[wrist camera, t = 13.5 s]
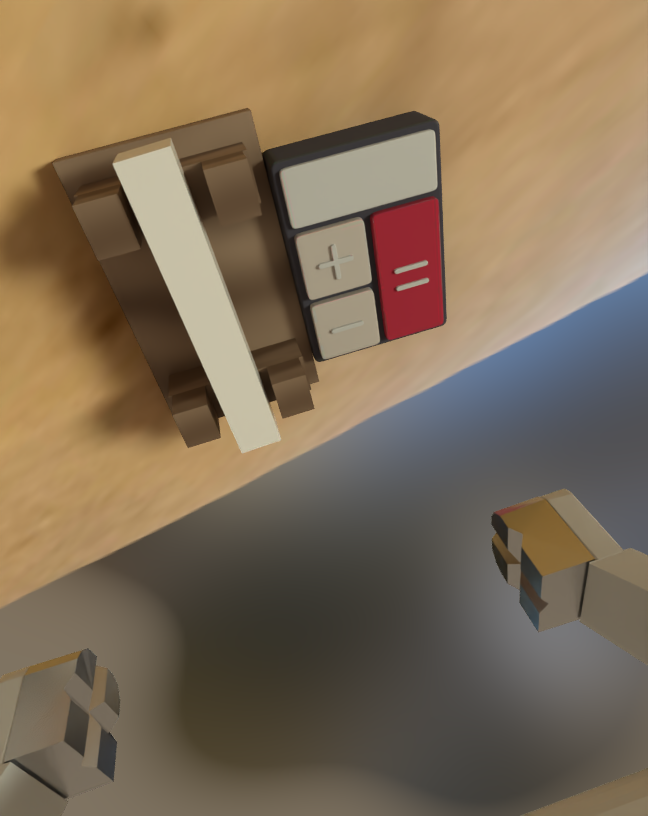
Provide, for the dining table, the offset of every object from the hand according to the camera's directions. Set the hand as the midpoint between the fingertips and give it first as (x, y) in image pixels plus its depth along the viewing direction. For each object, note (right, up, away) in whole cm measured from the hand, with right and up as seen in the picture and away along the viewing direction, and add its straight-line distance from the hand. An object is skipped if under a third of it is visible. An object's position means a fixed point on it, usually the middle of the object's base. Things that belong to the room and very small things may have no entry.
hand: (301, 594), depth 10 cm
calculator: (+3, +16, +29) cm, 34 cm away
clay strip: (-7, +10, +24) cm, 27 cm away
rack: (-8, +13, +28) cm, 32 cm away
